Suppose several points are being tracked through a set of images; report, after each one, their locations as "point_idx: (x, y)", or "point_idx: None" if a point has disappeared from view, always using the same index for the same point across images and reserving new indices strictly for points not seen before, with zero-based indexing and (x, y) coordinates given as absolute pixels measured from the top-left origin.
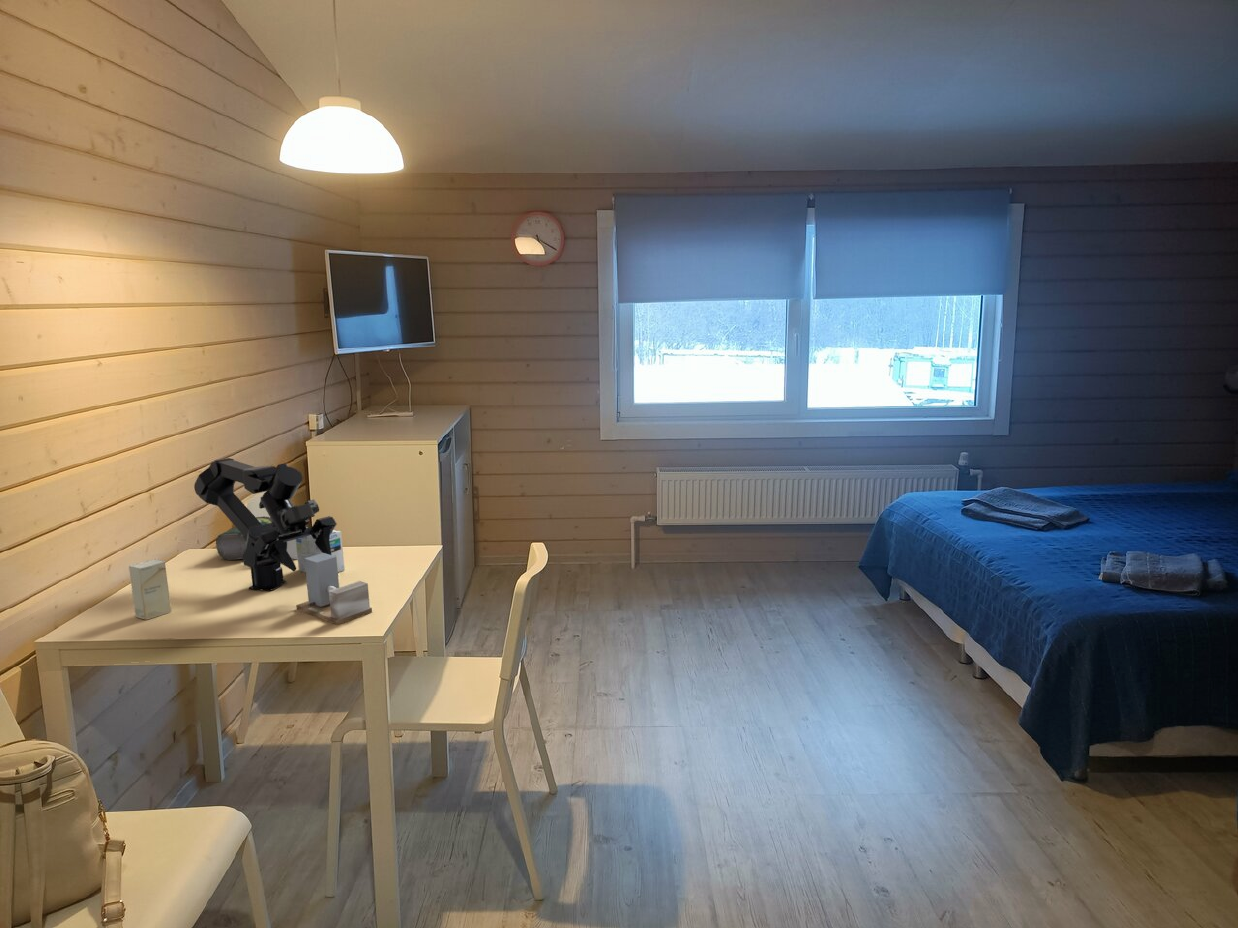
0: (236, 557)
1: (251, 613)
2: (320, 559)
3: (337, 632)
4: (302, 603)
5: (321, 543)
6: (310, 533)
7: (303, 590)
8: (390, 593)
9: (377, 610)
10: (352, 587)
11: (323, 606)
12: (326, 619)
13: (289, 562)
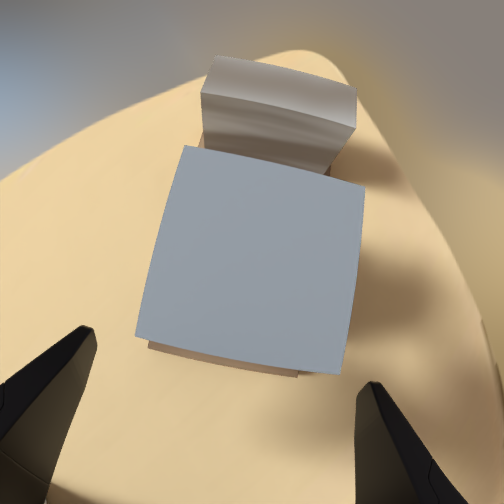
0: None
1: None
2: (302, 211)
3: (360, 121)
4: (275, 369)
5: (28, 462)
6: None
7: (147, 480)
8: (60, 180)
9: (191, 118)
10: (279, 73)
11: None
12: None
13: (405, 424)
